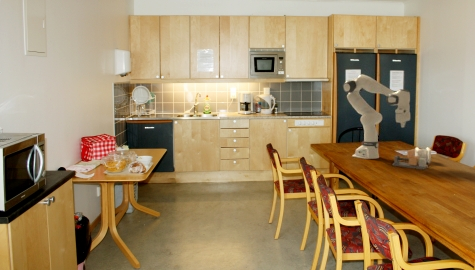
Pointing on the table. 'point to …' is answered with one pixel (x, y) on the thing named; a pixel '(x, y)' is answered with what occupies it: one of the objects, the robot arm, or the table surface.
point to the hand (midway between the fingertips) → (402, 127)
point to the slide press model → (402, 164)
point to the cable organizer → (423, 153)
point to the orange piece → (412, 157)
